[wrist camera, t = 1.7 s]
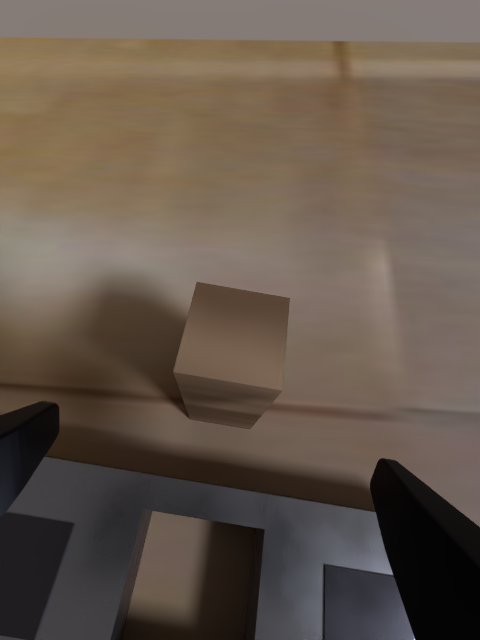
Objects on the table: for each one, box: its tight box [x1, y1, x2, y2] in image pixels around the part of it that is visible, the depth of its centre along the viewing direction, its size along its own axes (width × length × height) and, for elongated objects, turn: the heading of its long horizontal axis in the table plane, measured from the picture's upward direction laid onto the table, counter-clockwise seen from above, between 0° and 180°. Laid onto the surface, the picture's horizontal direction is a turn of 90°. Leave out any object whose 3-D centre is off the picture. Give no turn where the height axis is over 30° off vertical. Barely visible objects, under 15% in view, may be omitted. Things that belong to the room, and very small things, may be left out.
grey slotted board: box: [0, 456, 415, 640], centre depth 15 cm, size 24×9×3 cm, turn 82°
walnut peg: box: [173, 282, 290, 429], centre depth 16 cm, size 4×4×10 cm
